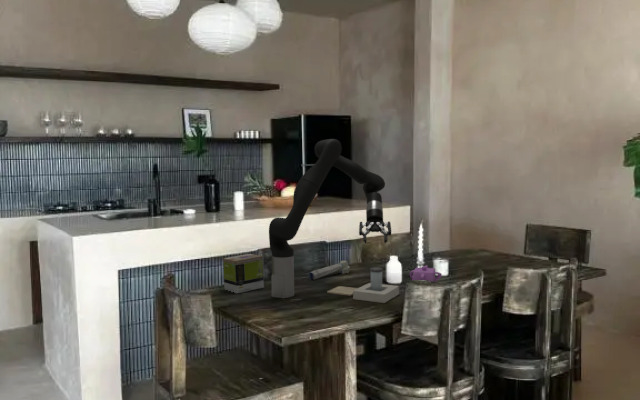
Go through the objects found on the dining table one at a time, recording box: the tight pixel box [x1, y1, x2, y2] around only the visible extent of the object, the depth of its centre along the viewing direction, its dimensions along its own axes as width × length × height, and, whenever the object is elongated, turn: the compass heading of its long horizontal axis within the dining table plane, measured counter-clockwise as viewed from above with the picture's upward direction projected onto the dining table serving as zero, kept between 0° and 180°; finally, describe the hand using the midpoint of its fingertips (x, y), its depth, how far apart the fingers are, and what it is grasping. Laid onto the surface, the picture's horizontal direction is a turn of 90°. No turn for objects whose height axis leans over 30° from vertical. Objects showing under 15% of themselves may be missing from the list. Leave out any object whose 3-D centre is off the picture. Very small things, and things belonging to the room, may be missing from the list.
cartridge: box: [369, 266, 384, 291], centre depth 254 cm, size 6×6×12 cm
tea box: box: [222, 253, 265, 294], centre depth 269 cm, size 15×10×15 cm, turn 131°
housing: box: [352, 282, 400, 304], centre depth 254 cm, size 16×14×4 cm
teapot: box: [409, 264, 443, 282], centre depth 266 cm, size 18×14×10 cm
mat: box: [326, 285, 359, 297], centre depth 264 cm, size 11×11×1 cm
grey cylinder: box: [307, 260, 351, 281], centre depth 295 cm, size 5×7×25 cm
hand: (375, 242), depth 265 cm, fingers open, 8 cm apart
